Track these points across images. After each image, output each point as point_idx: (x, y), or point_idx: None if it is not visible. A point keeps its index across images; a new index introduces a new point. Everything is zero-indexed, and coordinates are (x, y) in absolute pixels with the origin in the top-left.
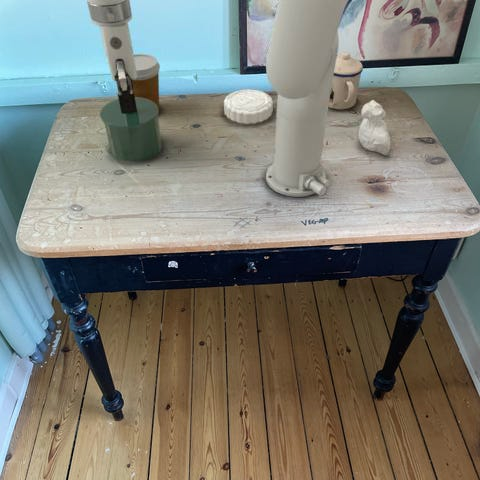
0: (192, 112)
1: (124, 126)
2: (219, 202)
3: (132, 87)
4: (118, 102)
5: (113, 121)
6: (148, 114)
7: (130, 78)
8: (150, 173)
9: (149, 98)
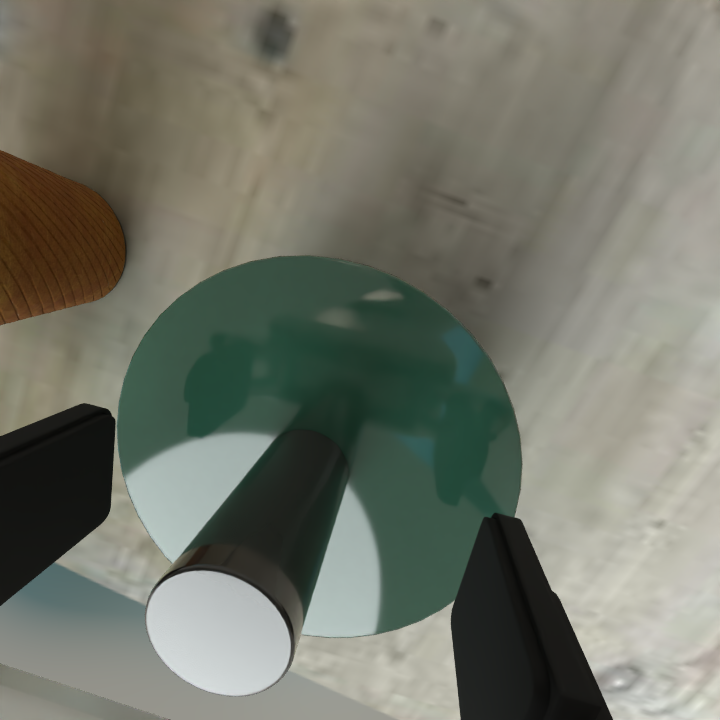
0: (135, 9)
1: None
2: None
3: (101, 421)
4: (168, 490)
5: (395, 595)
6: (414, 364)
7: (18, 465)
8: (558, 390)
9: (46, 225)
